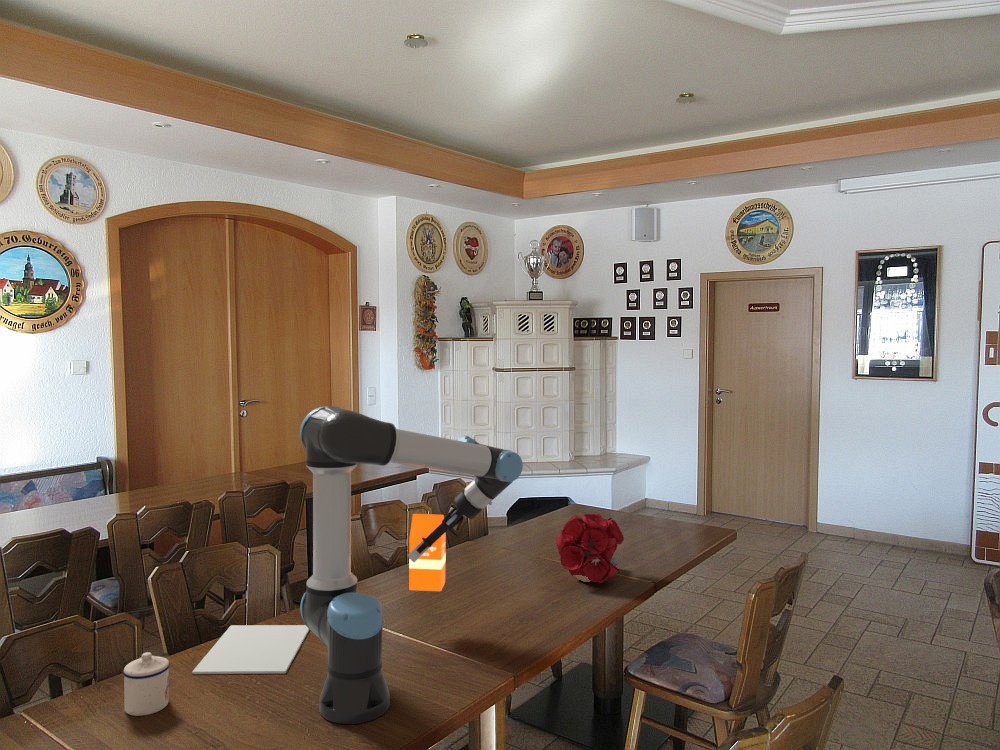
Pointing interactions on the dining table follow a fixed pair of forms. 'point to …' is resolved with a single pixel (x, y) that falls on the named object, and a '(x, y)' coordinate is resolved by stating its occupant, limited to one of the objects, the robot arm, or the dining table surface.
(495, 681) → the dining table surface
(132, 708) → the teacup with lid
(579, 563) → the bouquet
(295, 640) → the rubber mat
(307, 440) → the robot arm
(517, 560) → the dining table surface
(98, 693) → the dining table surface
